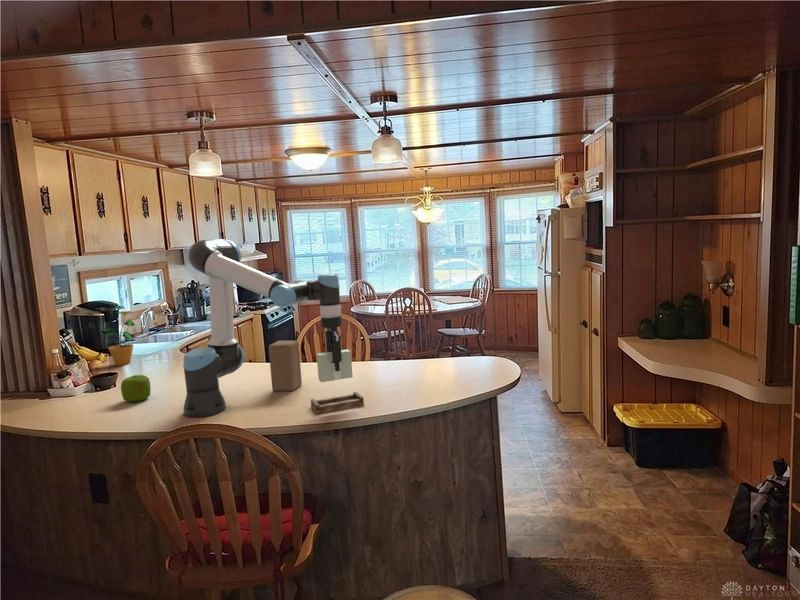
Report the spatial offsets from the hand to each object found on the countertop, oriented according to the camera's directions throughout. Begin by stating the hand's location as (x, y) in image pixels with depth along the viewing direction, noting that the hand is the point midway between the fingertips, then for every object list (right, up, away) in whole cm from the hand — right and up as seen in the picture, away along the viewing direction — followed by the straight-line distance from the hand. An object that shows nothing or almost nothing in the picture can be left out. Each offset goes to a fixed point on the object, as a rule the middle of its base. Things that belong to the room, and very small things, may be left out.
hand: (335, 377), depth 198 cm
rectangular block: (0, 0, 0) cm, 0 cm away
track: (0, -11, +1) cm, 11 cm away
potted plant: (-130, -7, +96) cm, 161 cm away
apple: (-86, -13, +24) cm, 90 cm away
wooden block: (-24, -9, +29) cm, 39 cm away
